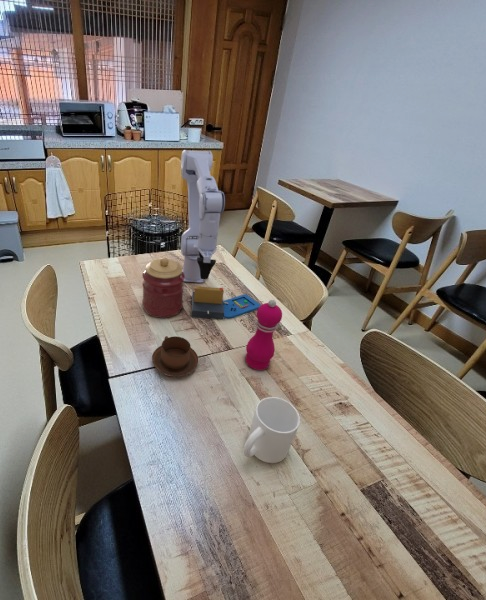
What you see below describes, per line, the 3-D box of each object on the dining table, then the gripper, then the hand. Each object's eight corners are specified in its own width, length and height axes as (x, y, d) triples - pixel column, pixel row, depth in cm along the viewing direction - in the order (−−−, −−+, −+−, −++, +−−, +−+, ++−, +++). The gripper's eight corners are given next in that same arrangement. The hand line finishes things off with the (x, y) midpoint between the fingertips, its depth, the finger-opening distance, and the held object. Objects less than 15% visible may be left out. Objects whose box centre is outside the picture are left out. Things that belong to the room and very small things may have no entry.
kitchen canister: (187, 316, 106) (191, 266, 96) (146, 320, 103) (146, 270, 93) (176, 294, 117) (180, 247, 107) (139, 297, 114) (139, 249, 104)
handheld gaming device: (210, 304, 111) (245, 293, 118) (210, 306, 112) (245, 295, 118) (226, 317, 105) (262, 305, 112) (225, 320, 106) (261, 308, 113)
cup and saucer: (142, 363, 88) (142, 345, 85) (173, 342, 96) (175, 324, 92) (176, 388, 82) (177, 370, 78) (206, 363, 89) (209, 346, 86)
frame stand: (186, 318, 105) (186, 311, 104) (187, 295, 116) (187, 289, 115) (228, 321, 105) (229, 315, 104) (225, 298, 116) (226, 291, 115)
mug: (255, 483, 64) (266, 451, 58) (225, 449, 69) (232, 417, 63) (295, 450, 70) (309, 419, 64) (265, 422, 75) (275, 390, 69)
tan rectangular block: (193, 301, 109) (195, 288, 106) (193, 299, 110) (195, 285, 107) (221, 304, 108) (223, 290, 106) (221, 301, 110) (223, 287, 107)
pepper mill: (275, 362, 91) (294, 300, 80) (261, 376, 87) (279, 313, 76) (252, 348, 95) (267, 288, 84) (238, 361, 91) (251, 299, 80)
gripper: (195, 223, 107) (191, 261, 115) (194, 241, 95) (191, 283, 103) (217, 225, 107) (212, 263, 115) (219, 243, 95) (214, 285, 103)
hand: (204, 272), depth 109 cm, fingers open, 7 cm apart
